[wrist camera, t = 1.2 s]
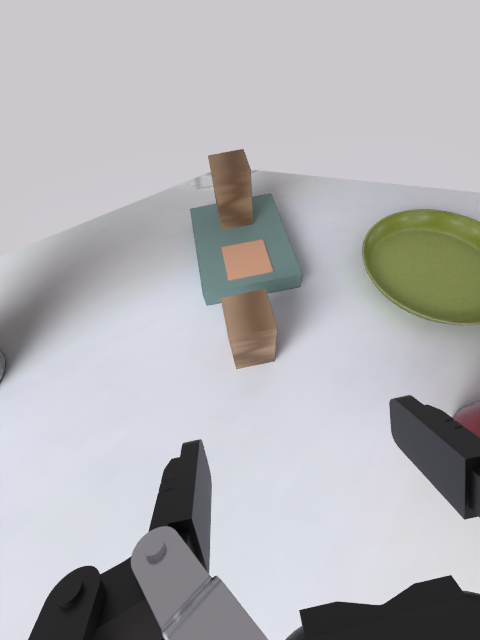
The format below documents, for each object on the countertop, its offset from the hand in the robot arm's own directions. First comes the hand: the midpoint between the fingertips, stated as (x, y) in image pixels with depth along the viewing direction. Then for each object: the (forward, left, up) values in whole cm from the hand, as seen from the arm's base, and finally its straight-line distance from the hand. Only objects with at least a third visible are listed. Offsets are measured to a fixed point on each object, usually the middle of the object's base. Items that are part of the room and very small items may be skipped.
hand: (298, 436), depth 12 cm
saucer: (+28, +20, -22) cm, 41 cm away
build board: (+2, +31, -21) cm, 38 cm away
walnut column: (+2, +36, -18) cm, 41 cm away
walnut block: (0, +14, -21) cm, 26 cm away
